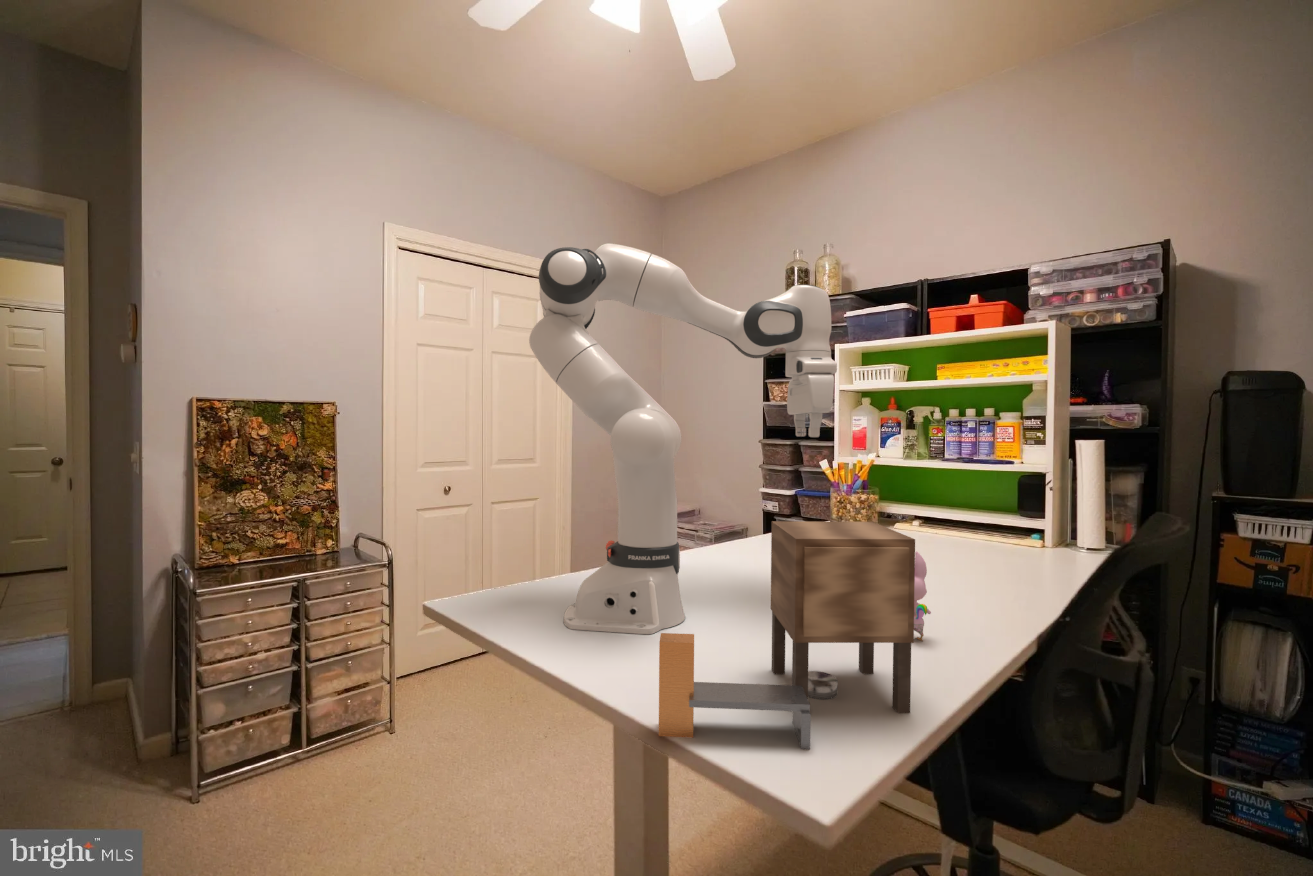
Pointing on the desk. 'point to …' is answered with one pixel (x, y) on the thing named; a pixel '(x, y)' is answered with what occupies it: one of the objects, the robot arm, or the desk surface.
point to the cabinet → (843, 595)
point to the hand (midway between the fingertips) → (807, 436)
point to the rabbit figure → (919, 594)
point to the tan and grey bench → (716, 693)
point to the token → (822, 685)
